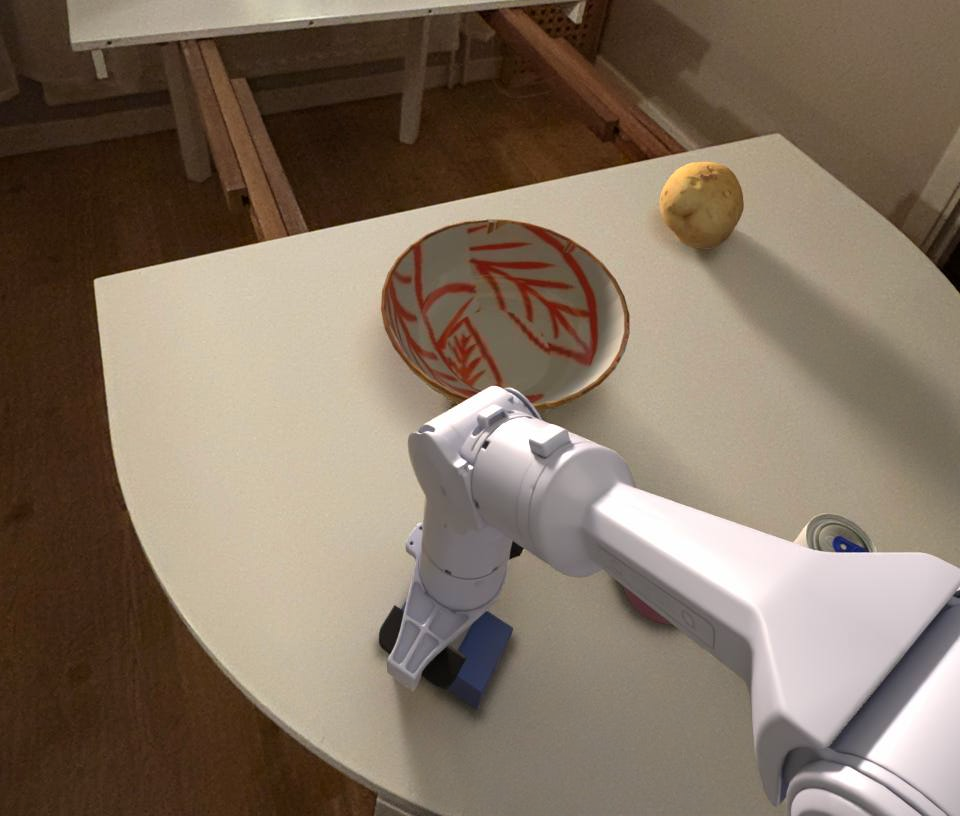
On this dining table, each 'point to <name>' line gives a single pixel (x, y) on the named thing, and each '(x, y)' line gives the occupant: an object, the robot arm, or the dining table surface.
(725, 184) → the potato
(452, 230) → the bowl
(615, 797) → the dining table surface
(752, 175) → the dining table surface
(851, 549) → the beverage can
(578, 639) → the dining table surface
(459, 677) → the block
